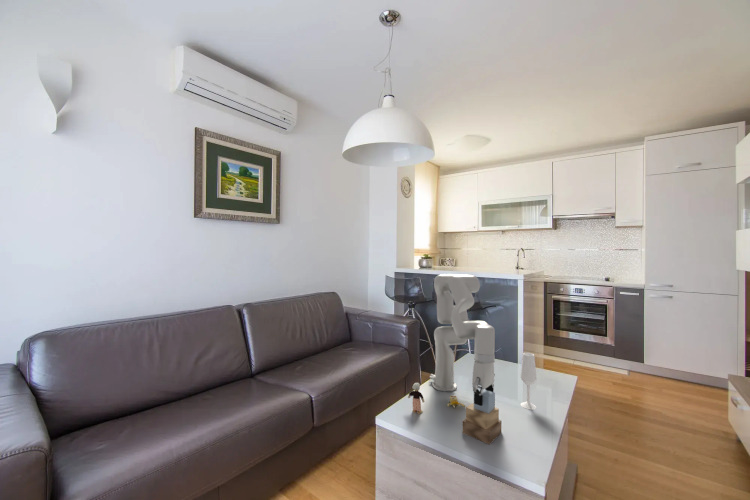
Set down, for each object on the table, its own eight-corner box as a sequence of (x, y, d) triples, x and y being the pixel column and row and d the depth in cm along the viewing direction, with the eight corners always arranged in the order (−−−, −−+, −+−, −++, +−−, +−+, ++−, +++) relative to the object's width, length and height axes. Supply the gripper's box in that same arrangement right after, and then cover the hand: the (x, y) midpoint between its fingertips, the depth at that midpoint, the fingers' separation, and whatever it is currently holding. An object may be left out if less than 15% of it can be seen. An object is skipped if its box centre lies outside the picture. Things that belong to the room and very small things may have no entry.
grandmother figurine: (425, 411, 142) (425, 382, 142) (423, 415, 139) (424, 385, 139) (408, 408, 145) (408, 380, 145) (406, 412, 141) (406, 383, 141)
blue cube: (473, 408, 125) (473, 392, 126) (480, 403, 130) (480, 388, 130) (488, 413, 121) (488, 397, 121) (494, 407, 126) (494, 392, 126)
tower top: (465, 419, 126) (465, 407, 126) (478, 412, 132) (478, 400, 132) (486, 429, 119) (486, 416, 119) (498, 421, 125) (498, 408, 125)
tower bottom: (462, 433, 125) (462, 420, 125) (475, 422, 133) (475, 410, 133) (489, 445, 118) (489, 431, 118) (501, 433, 126) (501, 420, 126)
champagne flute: (538, 410, 144) (538, 357, 144) (522, 408, 145) (522, 355, 146) (533, 403, 151) (534, 352, 151) (518, 401, 152) (519, 351, 152)
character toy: (447, 402, 144) (444, 394, 151) (447, 409, 144) (444, 401, 151) (465, 403, 143) (461, 395, 151) (465, 410, 143) (461, 402, 151)
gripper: (484, 350, 134) (484, 390, 134) (464, 359, 122) (464, 404, 122) (502, 354, 129) (502, 396, 129) (483, 364, 117) (483, 411, 117)
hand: (483, 400), depth 125 cm, fingers open, 9 cm apart
